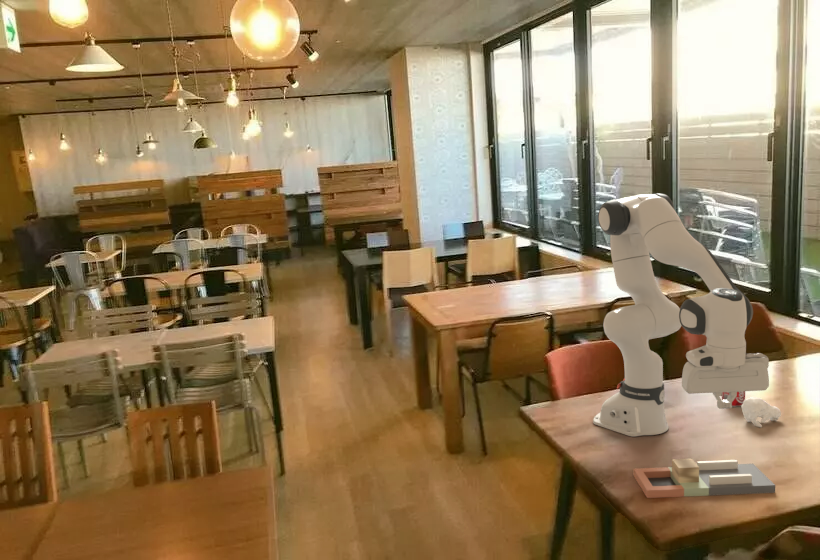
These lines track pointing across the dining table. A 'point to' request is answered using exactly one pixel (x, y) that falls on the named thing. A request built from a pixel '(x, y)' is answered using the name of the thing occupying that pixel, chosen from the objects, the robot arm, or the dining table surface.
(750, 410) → the white lumpy figurine
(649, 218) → the robot arm
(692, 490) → the pad
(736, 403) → the soda can
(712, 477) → the channel walls
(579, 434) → the dining table surface
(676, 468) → the birch block
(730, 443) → the dining table surface
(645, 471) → the board
